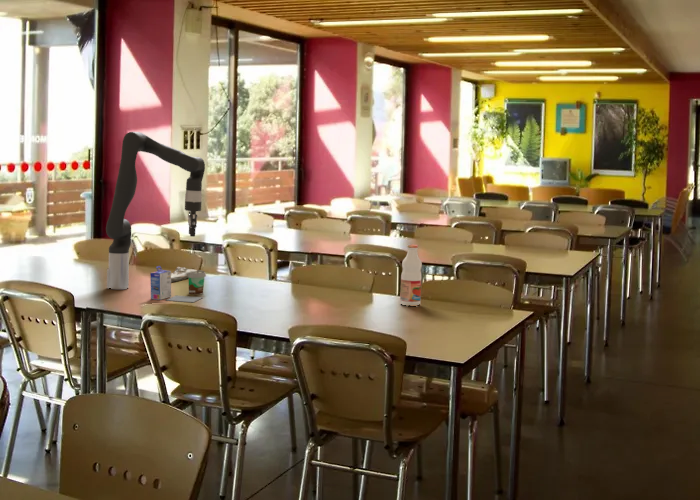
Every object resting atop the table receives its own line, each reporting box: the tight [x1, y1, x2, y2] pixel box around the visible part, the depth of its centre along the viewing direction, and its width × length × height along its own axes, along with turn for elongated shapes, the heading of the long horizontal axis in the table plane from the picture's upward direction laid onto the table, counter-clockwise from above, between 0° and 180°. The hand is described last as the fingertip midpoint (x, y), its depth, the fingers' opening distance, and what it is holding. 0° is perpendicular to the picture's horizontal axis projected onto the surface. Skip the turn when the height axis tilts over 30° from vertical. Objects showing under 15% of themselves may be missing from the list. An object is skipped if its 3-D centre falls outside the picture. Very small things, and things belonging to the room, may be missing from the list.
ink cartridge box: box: [149, 265, 172, 301], centre depth 409 cm, size 10×6×14 cm, turn 161°
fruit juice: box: [399, 243, 423, 305], centre depth 415 cm, size 9×9×28 cm
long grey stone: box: [171, 266, 198, 283], centre depth 468 cm, size 35×5×10 cm
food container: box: [187, 269, 207, 295], centre depth 427 cm, size 12×6×10 cm, turn 168°
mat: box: [165, 295, 204, 303], centre depth 409 cm, size 13×13×1 cm
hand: (191, 235), depth 418 cm, fingers open, 8 cm apart
